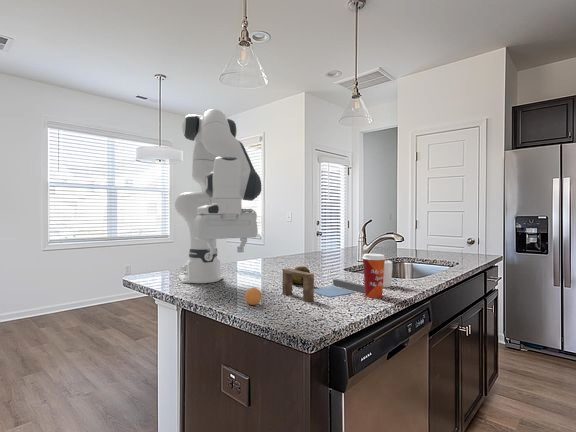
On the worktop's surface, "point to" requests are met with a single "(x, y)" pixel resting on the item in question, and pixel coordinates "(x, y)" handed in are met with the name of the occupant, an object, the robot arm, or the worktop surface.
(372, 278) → the coffee cup
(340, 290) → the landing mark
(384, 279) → the white cup
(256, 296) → the ball
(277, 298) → the worktop surface
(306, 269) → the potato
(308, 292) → the bridge
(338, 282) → the grey long bar
